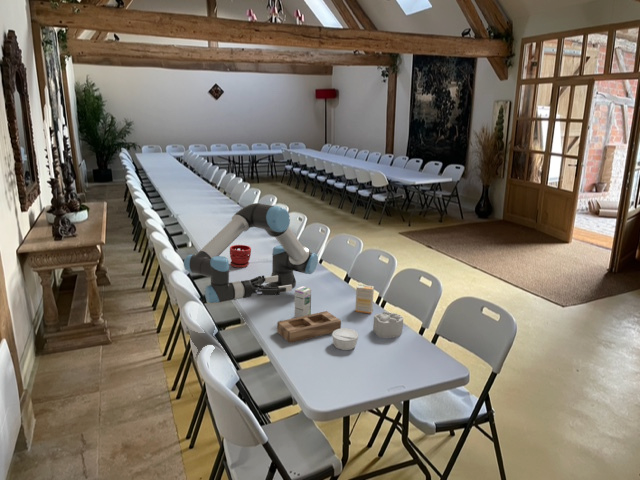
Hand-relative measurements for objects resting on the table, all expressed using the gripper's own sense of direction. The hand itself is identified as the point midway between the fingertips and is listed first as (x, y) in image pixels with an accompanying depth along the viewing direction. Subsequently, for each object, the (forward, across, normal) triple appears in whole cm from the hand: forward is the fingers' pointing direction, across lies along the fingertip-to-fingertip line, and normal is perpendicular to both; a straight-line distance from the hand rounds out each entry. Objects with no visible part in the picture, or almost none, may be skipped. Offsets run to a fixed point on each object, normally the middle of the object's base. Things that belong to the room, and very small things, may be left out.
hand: (284, 282), depth 217 cm
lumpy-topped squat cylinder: (+38, +32, -19) cm, 53 cm away
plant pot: (+14, -84, -19) cm, 87 cm away
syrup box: (+10, 0, -19) cm, 22 cm away
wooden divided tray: (+6, +15, -19) cm, 25 cm away
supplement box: (+42, +8, -19) cm, 46 cm away
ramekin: (+12, +33, -20) cm, 40 cm away
